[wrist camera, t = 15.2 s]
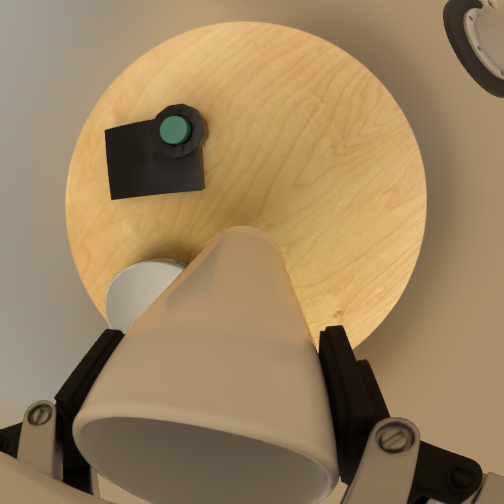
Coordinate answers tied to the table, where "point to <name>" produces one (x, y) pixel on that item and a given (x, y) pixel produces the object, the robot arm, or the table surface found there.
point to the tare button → (175, 130)
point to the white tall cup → (216, 389)
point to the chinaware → (138, 290)
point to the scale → (155, 156)
